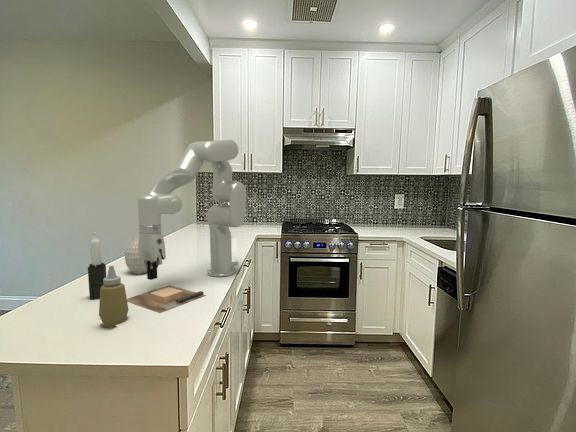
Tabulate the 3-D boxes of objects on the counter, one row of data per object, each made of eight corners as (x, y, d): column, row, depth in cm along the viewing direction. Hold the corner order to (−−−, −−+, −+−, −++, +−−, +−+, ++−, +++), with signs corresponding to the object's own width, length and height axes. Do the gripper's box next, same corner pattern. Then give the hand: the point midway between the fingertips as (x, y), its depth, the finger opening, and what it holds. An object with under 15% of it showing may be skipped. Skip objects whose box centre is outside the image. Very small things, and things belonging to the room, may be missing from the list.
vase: (155, 274, 158) (154, 238, 156) (124, 277, 153) (122, 240, 151) (155, 267, 170) (153, 234, 168) (126, 270, 165) (124, 235, 163)
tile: (168, 287, 130) (182, 290, 126) (168, 292, 130) (182, 296, 126) (149, 292, 123) (163, 297, 119) (149, 299, 124) (164, 303, 119)
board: (169, 288, 139) (169, 285, 139) (206, 298, 128) (206, 295, 128) (122, 303, 123) (122, 300, 123) (160, 316, 111) (159, 313, 111)
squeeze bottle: (121, 316, 112) (118, 261, 110) (134, 323, 107) (131, 265, 104) (95, 324, 106) (91, 266, 103) (106, 332, 100) (103, 271, 98)
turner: (197, 292, 130) (197, 290, 130) (206, 295, 128) (206, 292, 128) (158, 307, 116) (158, 304, 116) (167, 310, 114) (167, 307, 114)
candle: (89, 303, 123) (84, 233, 120) (93, 298, 128) (88, 231, 125) (105, 302, 124) (100, 232, 121) (108, 297, 129) (104, 230, 126)
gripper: (172, 229, 125) (174, 279, 128) (146, 226, 133) (148, 273, 136) (154, 232, 119) (156, 284, 121) (128, 229, 127) (130, 277, 129)
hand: (152, 278), depth 128 cm, fingers closed
